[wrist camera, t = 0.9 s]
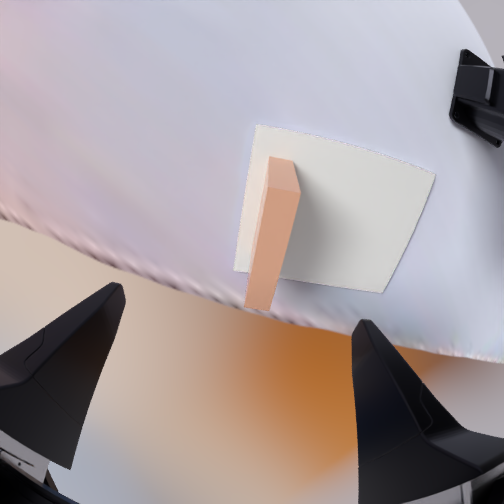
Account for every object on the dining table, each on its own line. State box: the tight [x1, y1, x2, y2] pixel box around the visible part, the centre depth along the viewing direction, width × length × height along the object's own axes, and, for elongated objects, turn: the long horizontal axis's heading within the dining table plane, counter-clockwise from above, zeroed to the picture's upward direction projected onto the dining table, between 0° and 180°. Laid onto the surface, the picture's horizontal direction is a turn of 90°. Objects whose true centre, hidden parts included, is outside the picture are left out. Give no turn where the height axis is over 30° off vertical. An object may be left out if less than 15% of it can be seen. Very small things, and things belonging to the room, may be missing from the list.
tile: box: [244, 156, 301, 311], centre depth 17 cm, size 2×8×6 cm, turn 171°
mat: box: [233, 124, 436, 293], centre depth 20 cm, size 14×12×1 cm
